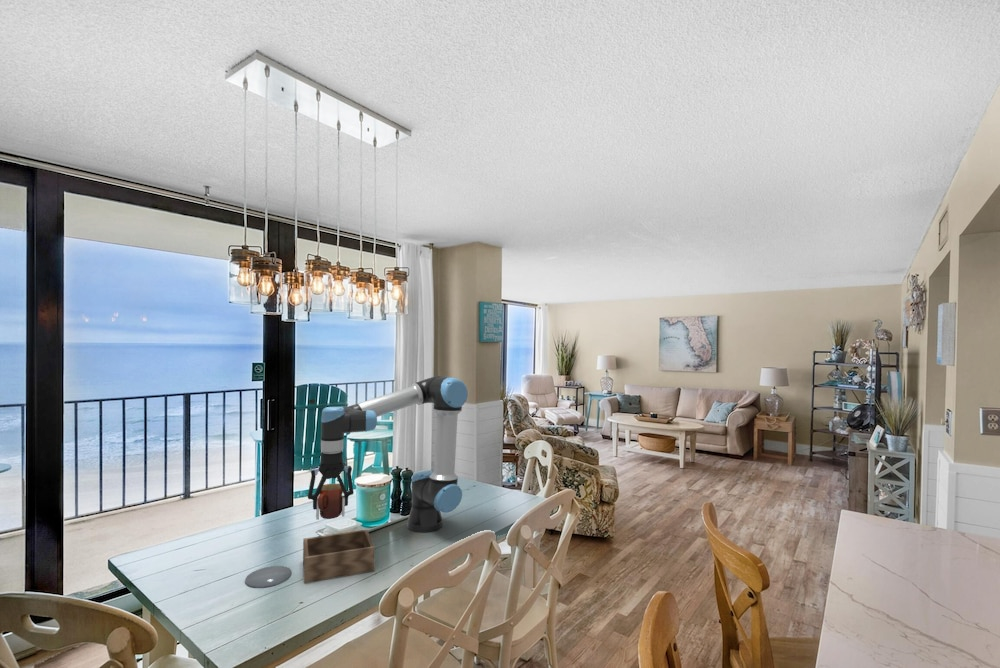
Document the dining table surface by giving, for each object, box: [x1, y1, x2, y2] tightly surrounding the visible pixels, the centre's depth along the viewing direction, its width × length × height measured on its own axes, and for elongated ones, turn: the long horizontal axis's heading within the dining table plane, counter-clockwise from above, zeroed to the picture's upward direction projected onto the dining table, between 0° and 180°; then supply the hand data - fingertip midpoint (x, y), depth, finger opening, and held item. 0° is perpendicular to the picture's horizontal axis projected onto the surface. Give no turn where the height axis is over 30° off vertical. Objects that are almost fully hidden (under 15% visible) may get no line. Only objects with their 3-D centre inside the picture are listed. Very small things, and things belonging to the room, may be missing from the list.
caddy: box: [302, 529, 376, 584], centre depth 170 cm, size 22×17×8 cm
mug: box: [318, 483, 343, 520], centre depth 168 cm, size 12×9×10 cm
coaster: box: [244, 565, 293, 589], centre depth 161 cm, size 14×14×1 cm
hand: (330, 516), depth 169 cm, fingers closed on mug, 8 cm apart
